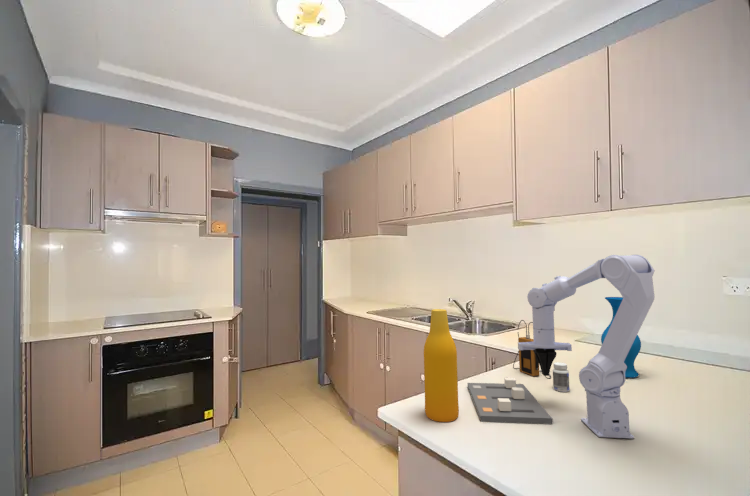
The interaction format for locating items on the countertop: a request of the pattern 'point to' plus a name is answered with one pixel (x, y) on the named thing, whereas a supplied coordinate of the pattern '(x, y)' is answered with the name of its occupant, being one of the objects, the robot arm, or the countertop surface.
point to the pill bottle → (560, 377)
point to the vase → (635, 346)
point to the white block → (504, 404)
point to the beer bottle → (440, 370)
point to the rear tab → (510, 382)
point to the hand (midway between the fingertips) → (545, 374)
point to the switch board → (520, 408)
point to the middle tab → (518, 393)
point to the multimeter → (528, 357)
